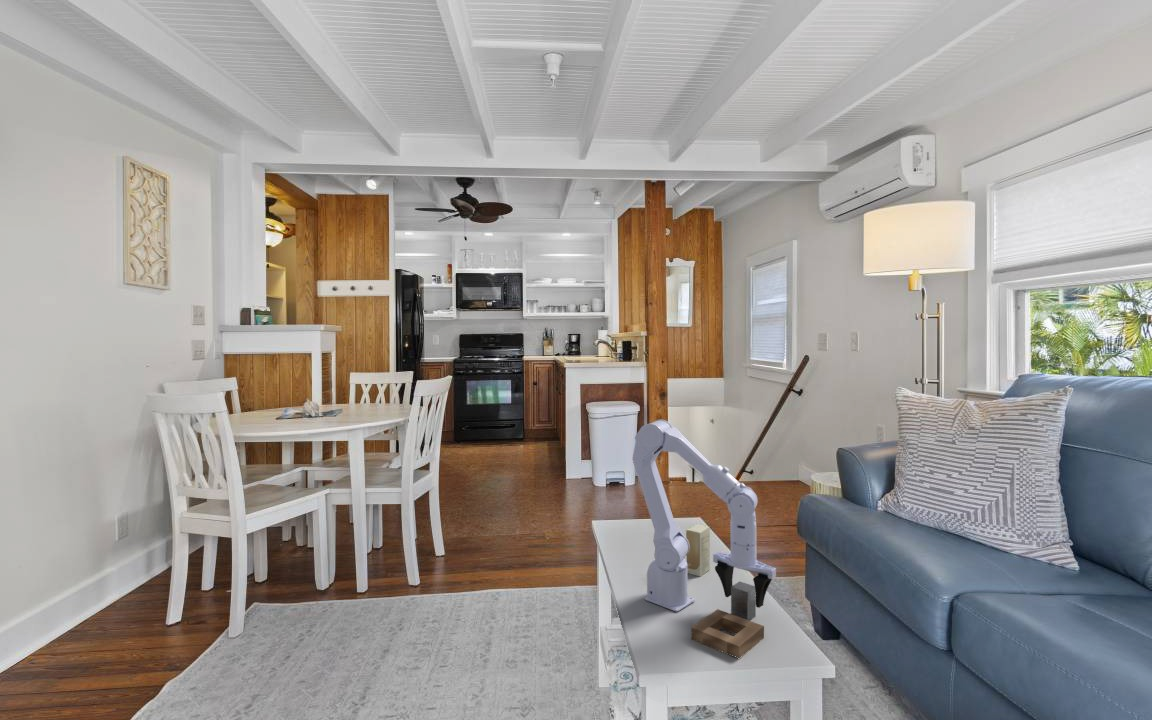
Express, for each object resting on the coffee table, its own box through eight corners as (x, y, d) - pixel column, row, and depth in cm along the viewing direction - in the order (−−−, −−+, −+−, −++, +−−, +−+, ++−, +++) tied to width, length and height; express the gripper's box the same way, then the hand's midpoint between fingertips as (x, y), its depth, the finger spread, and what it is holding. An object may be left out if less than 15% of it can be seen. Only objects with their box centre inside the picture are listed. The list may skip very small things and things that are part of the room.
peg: (731, 616, 126) (731, 586, 125) (739, 610, 128) (739, 581, 128) (747, 622, 123) (747, 592, 123) (755, 616, 126) (755, 586, 125)
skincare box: (696, 566, 155) (696, 523, 155) (710, 569, 152) (710, 526, 152) (685, 573, 150) (685, 529, 150) (700, 577, 147) (699, 532, 147)
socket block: (691, 638, 116) (691, 627, 116) (717, 620, 124) (717, 609, 124) (739, 659, 108) (739, 646, 108) (763, 637, 116) (764, 626, 116)
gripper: (781, 544, 123) (782, 604, 123) (723, 530, 133) (723, 585, 133) (767, 553, 118) (768, 615, 118) (708, 538, 128) (708, 595, 128)
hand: (743, 600), depth 125 cm, fingers open, 7 cm apart
